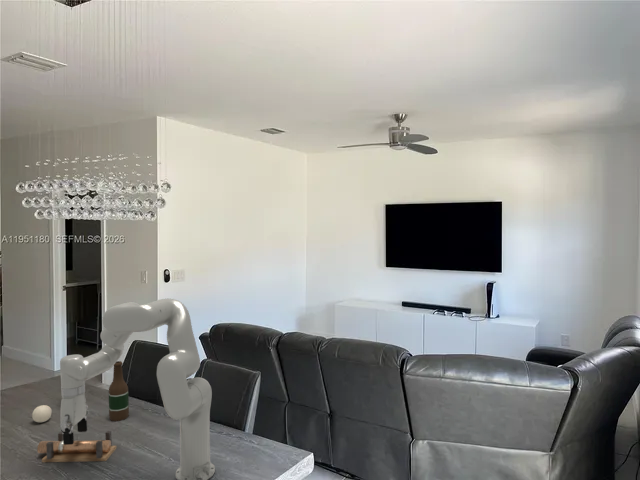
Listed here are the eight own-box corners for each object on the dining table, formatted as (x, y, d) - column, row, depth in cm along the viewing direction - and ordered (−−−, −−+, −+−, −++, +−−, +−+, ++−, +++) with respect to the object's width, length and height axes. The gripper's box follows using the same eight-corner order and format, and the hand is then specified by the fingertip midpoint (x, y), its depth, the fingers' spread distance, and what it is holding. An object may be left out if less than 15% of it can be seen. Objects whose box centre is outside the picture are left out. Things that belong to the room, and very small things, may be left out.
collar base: (116, 448, 170) (116, 430, 169) (106, 460, 161) (105, 442, 160) (55, 449, 169) (55, 432, 169) (41, 462, 160) (41, 443, 160)
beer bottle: (104, 419, 194) (103, 363, 193) (120, 412, 201) (119, 358, 200) (117, 423, 191) (116, 365, 190) (132, 416, 198) (131, 360, 197)
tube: (111, 449, 167) (111, 437, 167) (106, 454, 163) (106, 443, 163) (43, 450, 166) (43, 438, 166) (37, 455, 162) (37, 444, 162)
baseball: (56, 417, 196) (55, 402, 196) (44, 425, 189) (43, 409, 188) (41, 417, 197) (40, 401, 196) (28, 424, 189) (28, 408, 189)
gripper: (74, 382, 172) (77, 427, 173) (49, 400, 155) (51, 450, 156) (95, 381, 172) (97, 426, 173) (71, 399, 155) (74, 449, 156)
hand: (75, 437), depth 164 cm, fingers open, 9 cm apart
